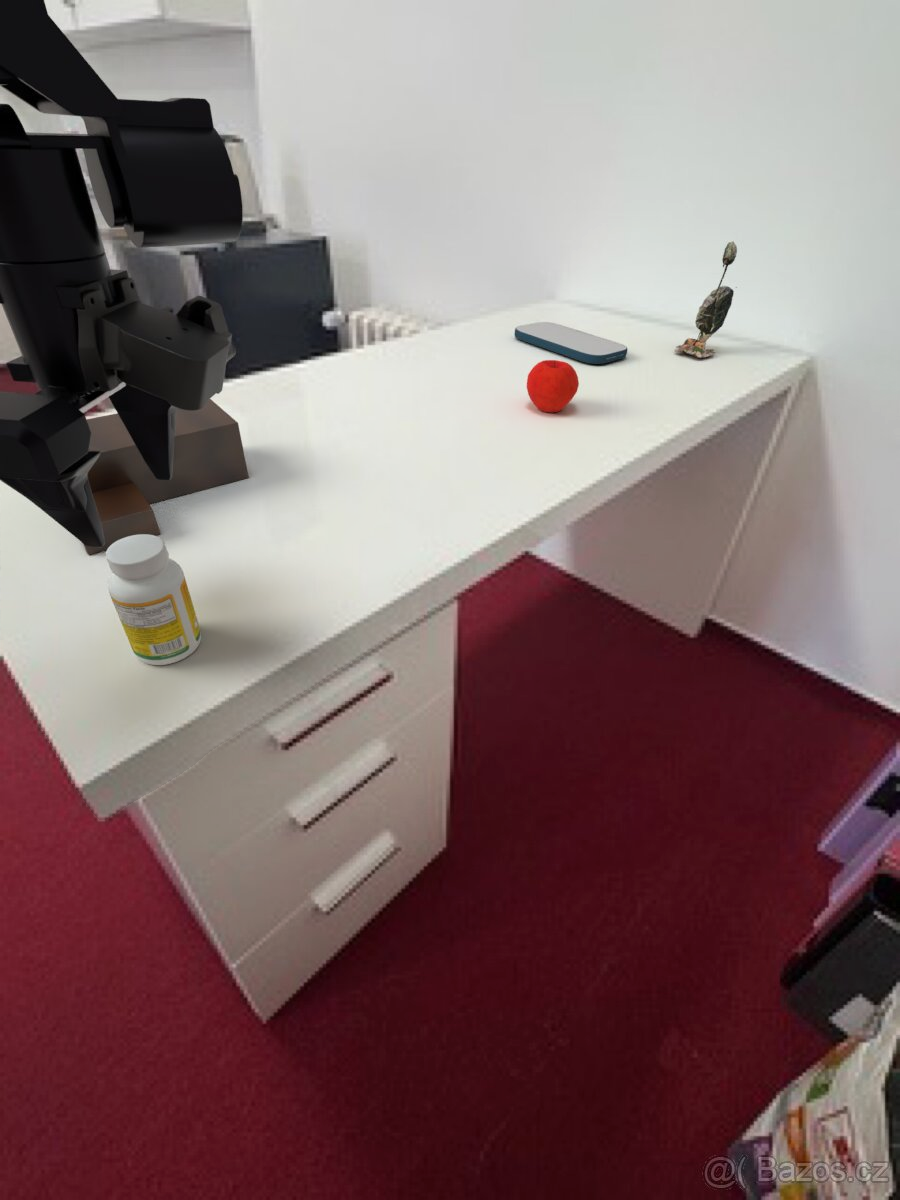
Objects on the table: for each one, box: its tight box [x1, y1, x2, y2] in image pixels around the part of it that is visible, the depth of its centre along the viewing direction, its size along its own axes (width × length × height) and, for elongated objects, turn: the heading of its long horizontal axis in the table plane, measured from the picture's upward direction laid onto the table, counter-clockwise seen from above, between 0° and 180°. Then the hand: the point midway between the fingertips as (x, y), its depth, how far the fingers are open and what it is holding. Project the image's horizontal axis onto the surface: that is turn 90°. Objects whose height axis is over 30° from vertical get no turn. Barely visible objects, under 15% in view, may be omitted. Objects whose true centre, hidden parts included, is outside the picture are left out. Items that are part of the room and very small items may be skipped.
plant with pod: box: [674, 240, 738, 359], centre depth 115 cm, size 8×11×20 cm
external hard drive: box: [514, 321, 628, 365], centre depth 120 cm, size 24×12×2 cm, turn 39°
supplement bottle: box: [105, 534, 202, 666], centre depth 46 cm, size 5×5×10 cm
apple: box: [526, 359, 580, 413], centre depth 92 cm, size 8×8×7 cm
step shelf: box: [81, 398, 250, 556], centre depth 67 cm, size 20×17×7 cm
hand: (133, 509), depth 41 cm, fingers open, 9 cm apart
